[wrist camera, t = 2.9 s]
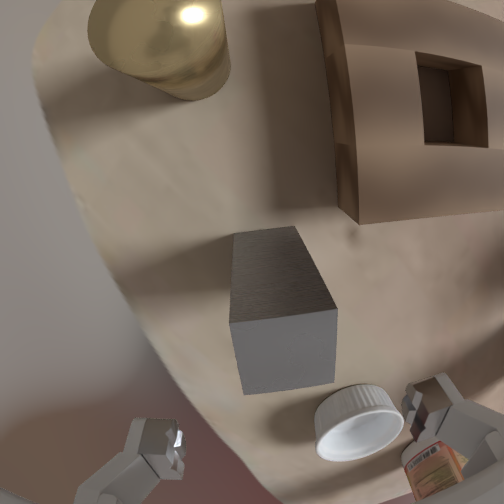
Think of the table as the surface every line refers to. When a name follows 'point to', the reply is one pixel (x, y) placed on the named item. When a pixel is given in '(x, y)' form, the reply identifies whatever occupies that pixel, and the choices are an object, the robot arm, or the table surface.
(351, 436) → the ramekin
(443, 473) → the fruit juice
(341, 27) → the socket block
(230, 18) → the table surface
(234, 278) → the square bit
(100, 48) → the round bit
